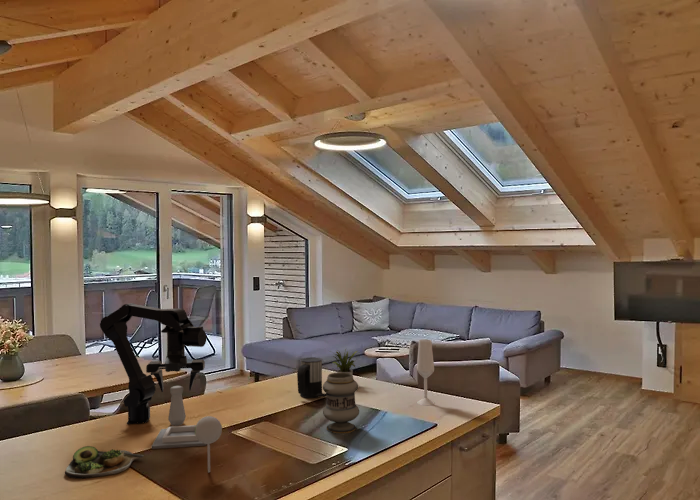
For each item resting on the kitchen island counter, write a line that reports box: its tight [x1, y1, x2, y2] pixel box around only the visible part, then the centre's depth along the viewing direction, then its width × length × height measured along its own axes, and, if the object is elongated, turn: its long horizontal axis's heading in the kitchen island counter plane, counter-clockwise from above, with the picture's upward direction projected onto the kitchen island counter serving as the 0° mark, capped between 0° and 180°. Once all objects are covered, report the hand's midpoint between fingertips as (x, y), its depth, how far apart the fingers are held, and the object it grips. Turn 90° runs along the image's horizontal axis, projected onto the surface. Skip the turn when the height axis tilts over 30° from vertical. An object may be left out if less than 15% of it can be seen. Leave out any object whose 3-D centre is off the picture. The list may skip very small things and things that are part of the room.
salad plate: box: [64, 445, 144, 479], centre depth 158 cm, size 19×18×5 cm
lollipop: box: [195, 415, 223, 473], centre depth 152 cm, size 7×7×15 cm
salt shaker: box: [167, 385, 187, 427], centre depth 193 cm, size 6×6×13 cm
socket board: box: [151, 424, 207, 450], centre depth 179 cm, size 16×16×2 cm
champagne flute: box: [416, 338, 435, 406], centre depth 215 cm, size 7×7×24 cm
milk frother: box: [296, 356, 326, 399], centre depth 225 cm, size 14×16×15 cm
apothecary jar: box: [322, 371, 360, 434], centre depth 186 cm, size 12×12×18 cm
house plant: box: [329, 348, 358, 375], centre depth 244 cm, size 14×14×16 cm
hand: (176, 391), depth 193 cm, fingers open, 9 cm apart
